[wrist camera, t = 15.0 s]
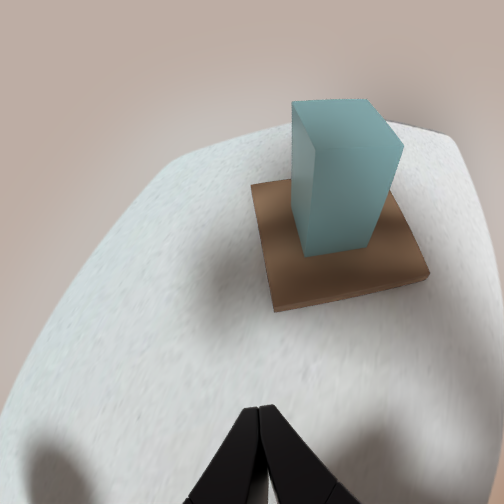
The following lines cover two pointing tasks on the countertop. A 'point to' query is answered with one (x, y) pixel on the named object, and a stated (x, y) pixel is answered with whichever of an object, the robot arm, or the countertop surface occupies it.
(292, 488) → the robot arm
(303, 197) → the teal rectangular prism
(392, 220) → the post board
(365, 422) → the countertop surface
